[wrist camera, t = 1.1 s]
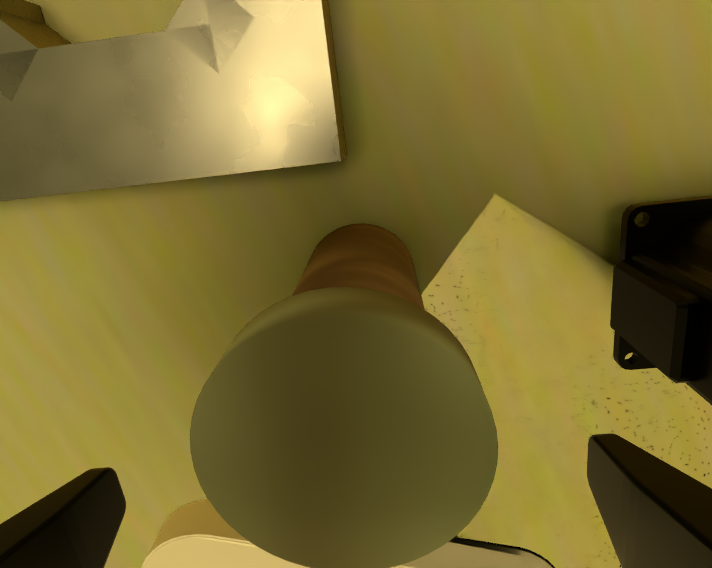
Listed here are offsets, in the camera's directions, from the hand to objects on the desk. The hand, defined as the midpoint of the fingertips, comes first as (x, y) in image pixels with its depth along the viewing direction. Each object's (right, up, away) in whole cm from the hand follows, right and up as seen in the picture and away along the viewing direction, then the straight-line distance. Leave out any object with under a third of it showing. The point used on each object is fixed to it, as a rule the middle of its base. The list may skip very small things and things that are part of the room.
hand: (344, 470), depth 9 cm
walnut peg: (0, +4, +11) cm, 12 cm away
